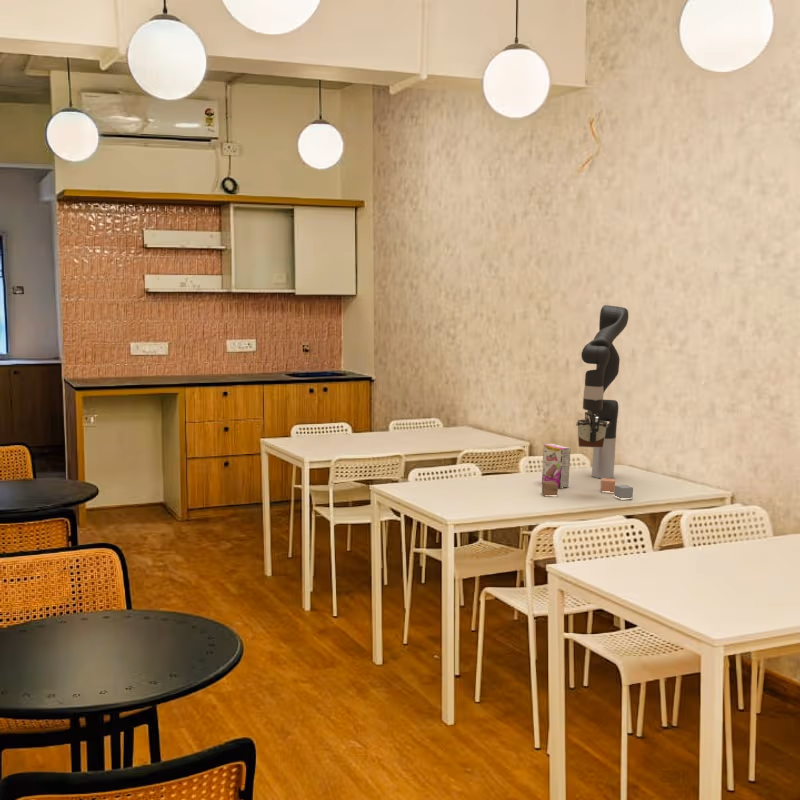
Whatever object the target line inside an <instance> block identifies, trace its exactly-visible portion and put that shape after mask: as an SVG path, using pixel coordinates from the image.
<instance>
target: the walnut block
mask: <svg viewBox="0 0 800 800" xmlns="http://www.w3.org/2000/svg"><path fill="white" fill-rule="evenodd" d="M541 484H542V485H541V494H542V493H543V494H544V495H557V496H558V489H559V488H558V484H557V483H556V482H552V481H543V483H542V482H541ZM543 494H542V495H543ZM544 495H543V496H544Z"/></svg>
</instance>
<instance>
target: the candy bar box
mask: <svg viewBox="0 0 800 800" xmlns="http://www.w3.org/2000/svg"><path fill="white" fill-rule="evenodd" d="M542 454H543V455H542V474H541V484H542V483H543V481H552V482H556V483H557V484H558V487H559V488H558V489H563V488H562V487H567V488H569V485H570V484H569V483H570V482H569V479H570V461H571V448H570V447H568V446H567V447H566V446H563V445H559V444H556V443H555V444H554V443H545V444H543V453H542Z"/></svg>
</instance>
